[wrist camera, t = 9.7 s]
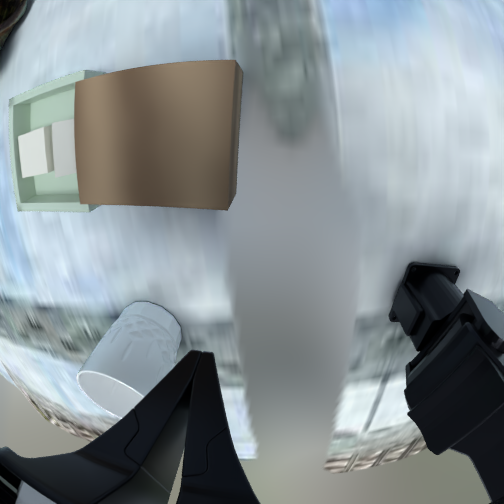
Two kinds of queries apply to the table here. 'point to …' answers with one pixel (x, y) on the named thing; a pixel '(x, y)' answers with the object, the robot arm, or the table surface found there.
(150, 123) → the tan cardboard slab
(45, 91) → the tray
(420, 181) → the table surface
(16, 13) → the seashell
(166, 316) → the white cup
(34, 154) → the tile
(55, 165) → the tile
